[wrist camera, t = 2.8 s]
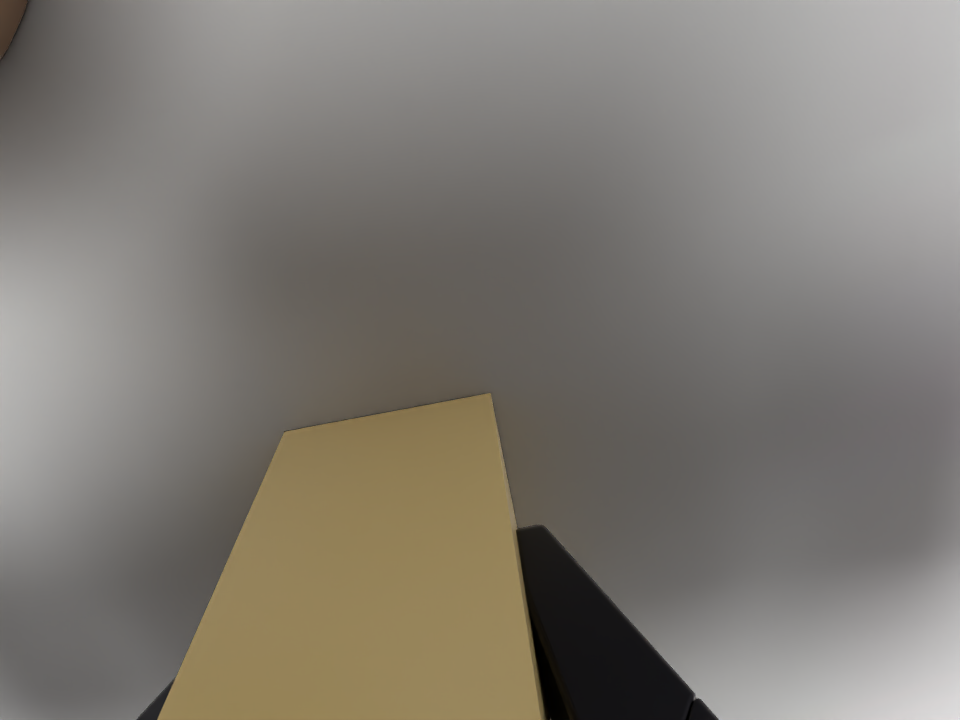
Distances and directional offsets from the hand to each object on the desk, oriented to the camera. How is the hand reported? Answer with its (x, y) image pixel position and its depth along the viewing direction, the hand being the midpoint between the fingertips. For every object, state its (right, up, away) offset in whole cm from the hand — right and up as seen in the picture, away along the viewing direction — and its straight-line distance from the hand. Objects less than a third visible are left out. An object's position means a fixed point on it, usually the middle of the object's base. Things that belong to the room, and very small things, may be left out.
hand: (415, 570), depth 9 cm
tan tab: (0, 0, +1) cm, 1 cm away
